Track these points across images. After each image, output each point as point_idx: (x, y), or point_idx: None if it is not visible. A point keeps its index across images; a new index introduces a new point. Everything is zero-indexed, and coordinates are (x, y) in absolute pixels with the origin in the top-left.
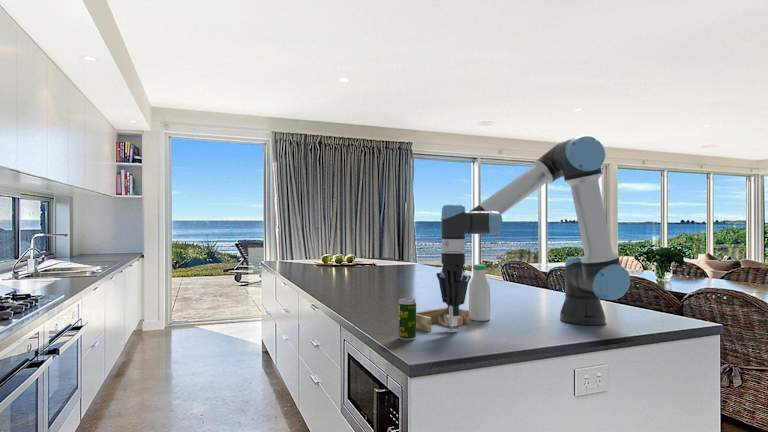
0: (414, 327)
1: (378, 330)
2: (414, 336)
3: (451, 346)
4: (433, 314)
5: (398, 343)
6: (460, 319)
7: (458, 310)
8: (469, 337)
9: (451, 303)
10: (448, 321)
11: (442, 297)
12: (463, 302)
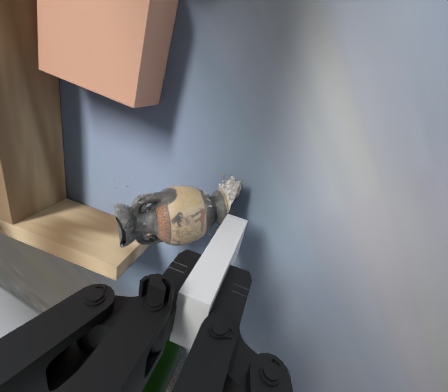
0: (165, 385)
1: (43, 289)
2: (179, 354)
3: (321, 373)
4: (13, 82)
5: (174, 378)
6: (158, 2)
7: (244, 303)
8: (339, 246)
9: (166, 334)
10: (196, 239)
11: (59, 360)
12: (286, 389)
